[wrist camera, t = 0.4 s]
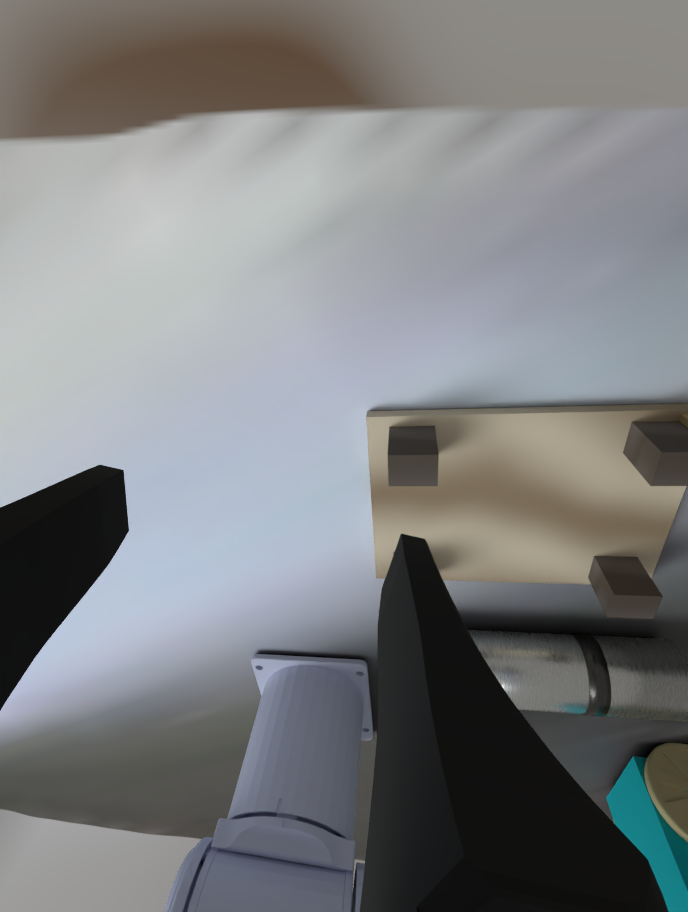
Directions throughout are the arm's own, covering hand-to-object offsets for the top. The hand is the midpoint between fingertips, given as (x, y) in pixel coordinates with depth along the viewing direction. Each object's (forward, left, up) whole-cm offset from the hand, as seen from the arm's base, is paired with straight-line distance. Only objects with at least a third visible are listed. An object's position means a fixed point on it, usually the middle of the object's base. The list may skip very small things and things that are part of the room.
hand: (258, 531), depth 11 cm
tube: (-17, -11, -10) cm, 22 cm away
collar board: (-6, -9, -10) cm, 15 cm away
